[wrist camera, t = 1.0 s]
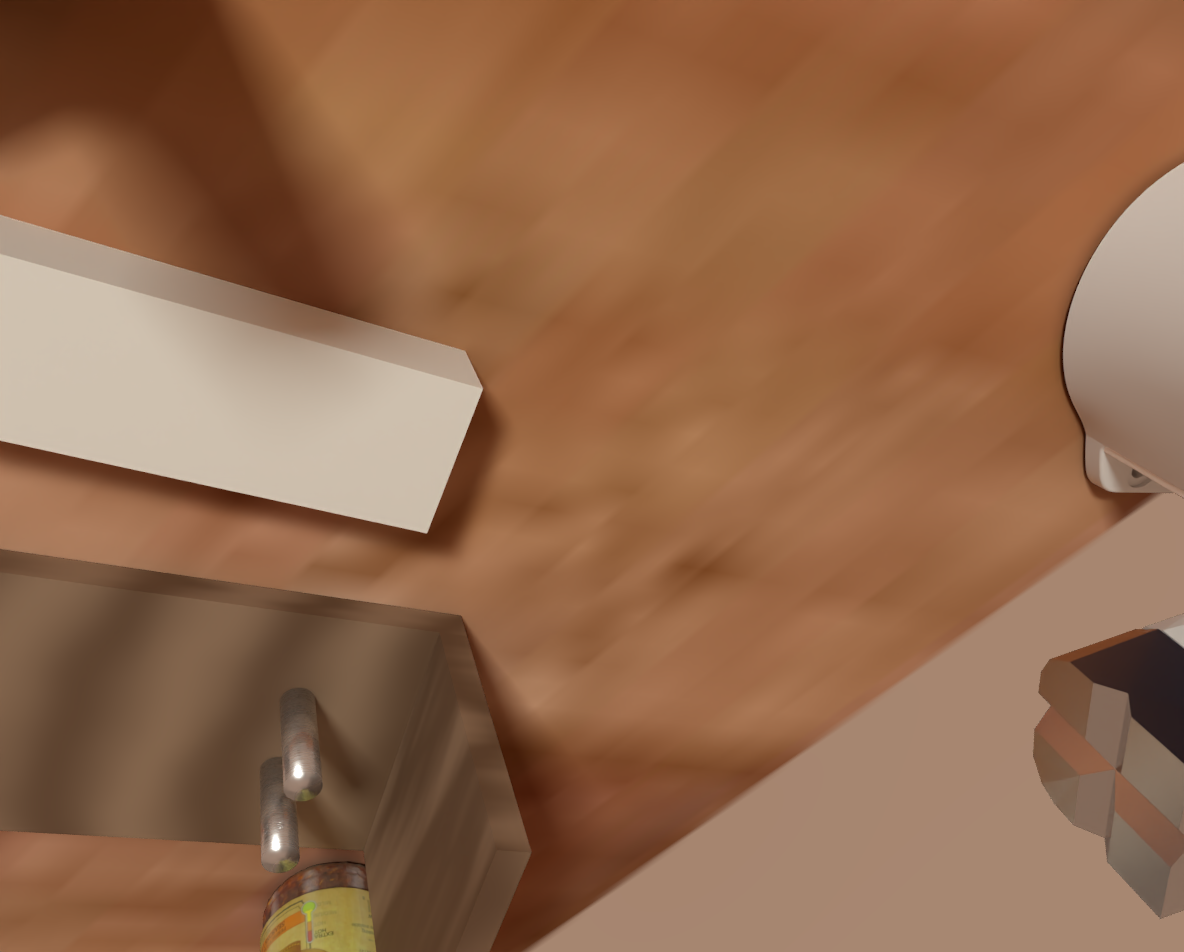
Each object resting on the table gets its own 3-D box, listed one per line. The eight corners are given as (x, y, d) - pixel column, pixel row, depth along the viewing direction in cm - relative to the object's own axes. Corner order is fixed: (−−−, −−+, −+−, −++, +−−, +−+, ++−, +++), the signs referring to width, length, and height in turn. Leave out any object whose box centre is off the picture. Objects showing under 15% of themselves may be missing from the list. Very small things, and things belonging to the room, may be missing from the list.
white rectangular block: (463, 347, 42) (483, 388, 39) (412, 483, 44) (426, 533, 41) (-146, 168, 34) (-189, 200, 30) (-173, 345, 36) (-216, 393, 33)
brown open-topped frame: (461, 615, 47) (531, 852, 36) (385, 828, 51) (427, 1099, 40) (-313, 504, 37) (-564, 788, 25) (-325, 782, 41) (-544, 1132, 30)
